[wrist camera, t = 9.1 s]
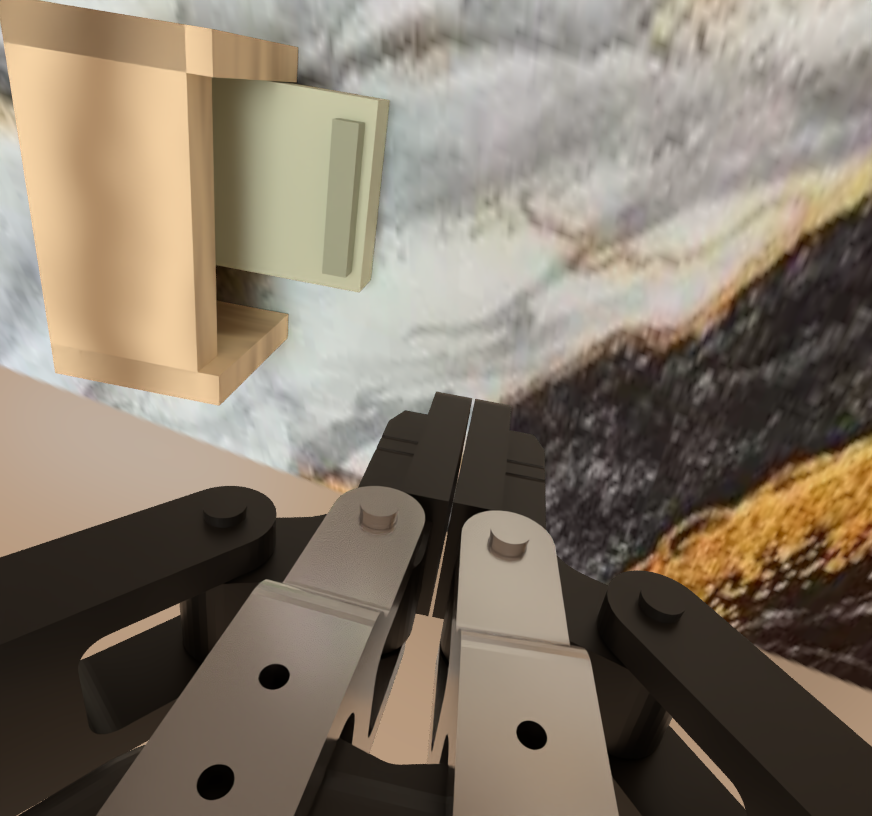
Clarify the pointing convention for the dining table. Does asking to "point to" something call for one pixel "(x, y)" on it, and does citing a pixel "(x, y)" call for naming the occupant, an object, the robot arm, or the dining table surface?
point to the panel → (297, 180)
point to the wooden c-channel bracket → (133, 194)
